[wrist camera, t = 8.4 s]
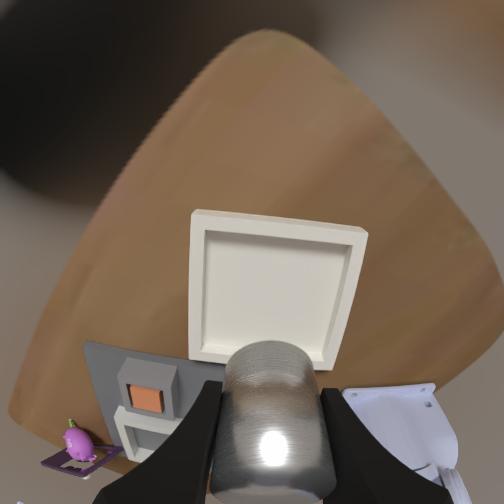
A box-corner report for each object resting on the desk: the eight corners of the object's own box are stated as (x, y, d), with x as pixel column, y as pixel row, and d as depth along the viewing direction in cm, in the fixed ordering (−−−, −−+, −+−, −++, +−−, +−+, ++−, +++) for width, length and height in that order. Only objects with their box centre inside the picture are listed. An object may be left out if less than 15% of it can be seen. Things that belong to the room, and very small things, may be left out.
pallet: (232, 365, 22) (229, 393, 19) (223, 469, 27) (221, 490, 24) (86, 340, 21) (70, 362, 19) (120, 449, 27) (112, 469, 24)
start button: (164, 377, 21) (158, 393, 19) (166, 396, 21) (161, 413, 20) (137, 372, 21) (129, 387, 19) (140, 391, 21) (134, 407, 20)
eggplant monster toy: (44, 470, 21) (87, 484, 19) (23, 431, 21) (61, 438, 19) (80, 449, 27) (127, 454, 25) (63, 413, 28) (106, 413, 26)
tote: (360, 227, 18) (368, 233, 17) (328, 358, 21) (332, 370, 20) (196, 208, 18) (191, 214, 17) (192, 347, 21) (188, 359, 20)
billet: (322, 343, 12) (354, 460, 7) (303, 405, 14) (317, 510, 8) (227, 335, 12) (209, 458, 7) (222, 400, 14) (209, 507, 8)
